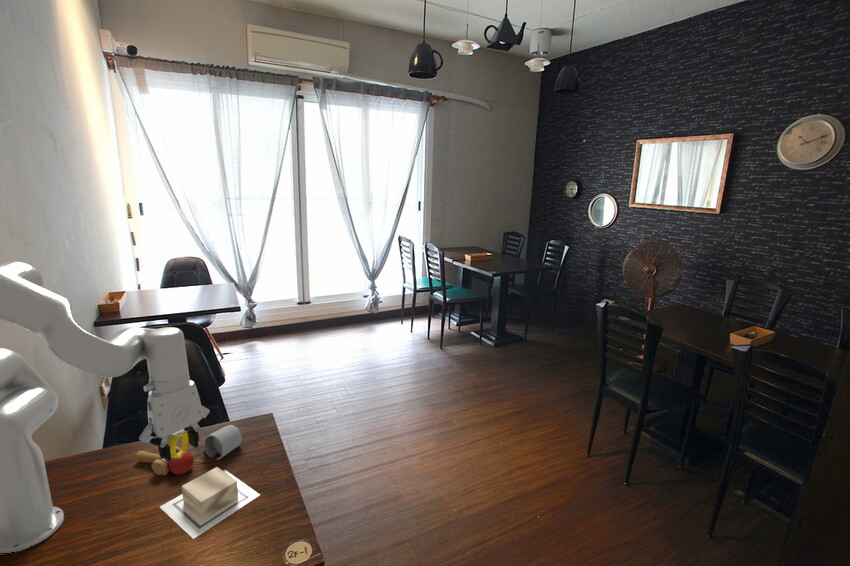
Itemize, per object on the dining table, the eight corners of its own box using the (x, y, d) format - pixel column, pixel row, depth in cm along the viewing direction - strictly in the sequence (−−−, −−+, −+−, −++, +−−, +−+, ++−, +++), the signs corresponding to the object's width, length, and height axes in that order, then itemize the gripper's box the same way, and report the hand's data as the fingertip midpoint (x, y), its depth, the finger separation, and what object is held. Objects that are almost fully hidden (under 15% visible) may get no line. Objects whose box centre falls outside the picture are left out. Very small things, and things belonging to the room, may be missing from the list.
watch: (181, 447, 100) (179, 425, 99) (192, 447, 100) (190, 425, 99) (167, 462, 94) (164, 438, 93) (179, 462, 95) (177, 438, 94)
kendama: (126, 475, 114) (177, 481, 109) (125, 452, 114) (176, 457, 109) (152, 462, 121) (201, 468, 116) (150, 441, 121) (200, 445, 116)
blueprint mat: (193, 540, 92) (193, 538, 92) (159, 508, 101) (159, 506, 101) (260, 496, 106) (260, 494, 106) (225, 471, 115) (225, 469, 115)
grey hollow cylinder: (245, 447, 126) (243, 424, 124) (223, 463, 118) (221, 439, 116) (219, 439, 129) (216, 417, 128) (196, 454, 122) (193, 431, 120)
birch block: (202, 520, 98) (201, 502, 96) (183, 503, 102) (181, 486, 101) (238, 497, 105) (236, 481, 104) (218, 483, 110) (217, 466, 109)
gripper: (134, 402, 84) (147, 478, 89) (216, 372, 98) (224, 439, 102) (119, 392, 89) (132, 465, 93) (200, 364, 102) (208, 429, 106)
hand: (180, 451), depth 97 cm, fingers closed on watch, 5 cm apart
